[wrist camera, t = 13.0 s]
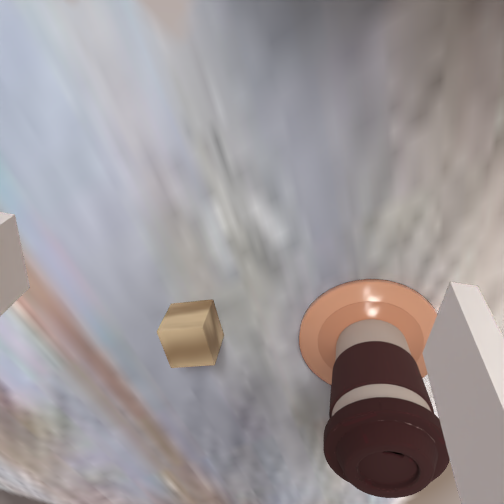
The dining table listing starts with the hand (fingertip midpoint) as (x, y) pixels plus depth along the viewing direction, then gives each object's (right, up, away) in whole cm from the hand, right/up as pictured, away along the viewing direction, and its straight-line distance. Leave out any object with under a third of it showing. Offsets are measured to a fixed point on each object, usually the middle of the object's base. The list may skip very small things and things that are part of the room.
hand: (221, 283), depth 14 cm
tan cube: (-5, -7, +37) cm, 38 cm away
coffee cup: (+14, -9, +34) cm, 38 cm away
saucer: (+14, -8, +35) cm, 38 cm away
